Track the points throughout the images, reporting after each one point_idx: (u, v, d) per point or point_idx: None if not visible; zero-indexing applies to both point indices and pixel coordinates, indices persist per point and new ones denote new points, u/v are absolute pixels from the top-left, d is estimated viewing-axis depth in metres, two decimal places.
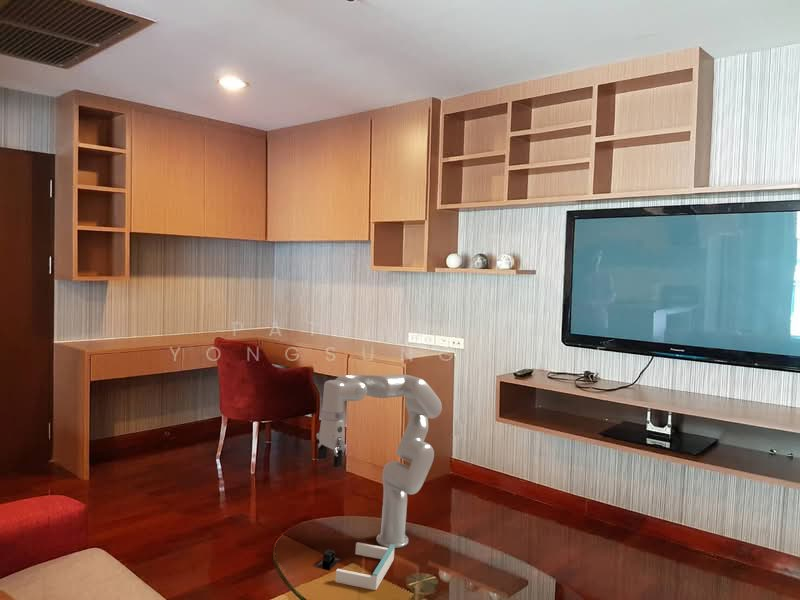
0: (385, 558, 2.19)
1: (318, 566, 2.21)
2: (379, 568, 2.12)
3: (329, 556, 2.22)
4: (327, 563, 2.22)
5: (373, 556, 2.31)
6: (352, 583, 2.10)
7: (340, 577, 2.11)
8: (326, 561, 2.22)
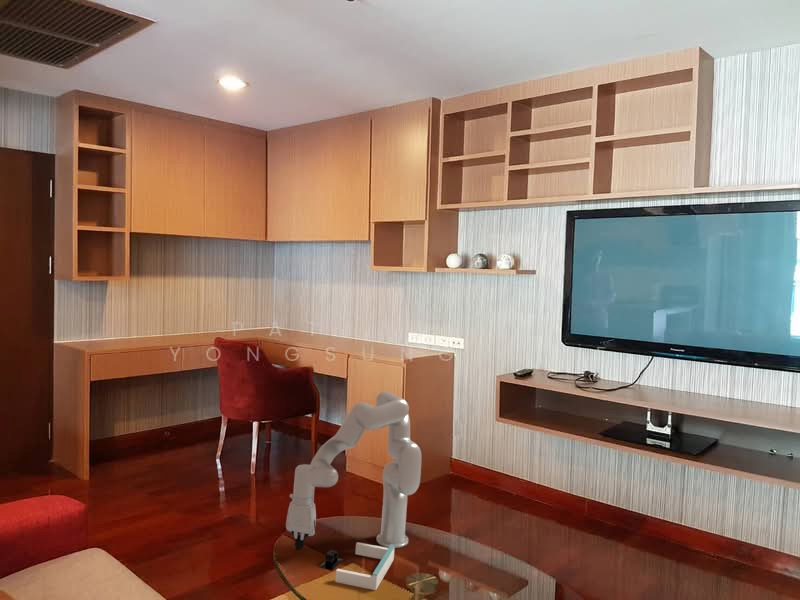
0: (385, 558, 2.19)
1: (321, 566, 2.21)
2: (379, 568, 2.12)
3: (332, 556, 2.22)
4: (330, 563, 2.22)
5: (373, 556, 2.31)
6: (352, 583, 2.10)
7: (340, 577, 2.11)
8: (329, 561, 2.22)
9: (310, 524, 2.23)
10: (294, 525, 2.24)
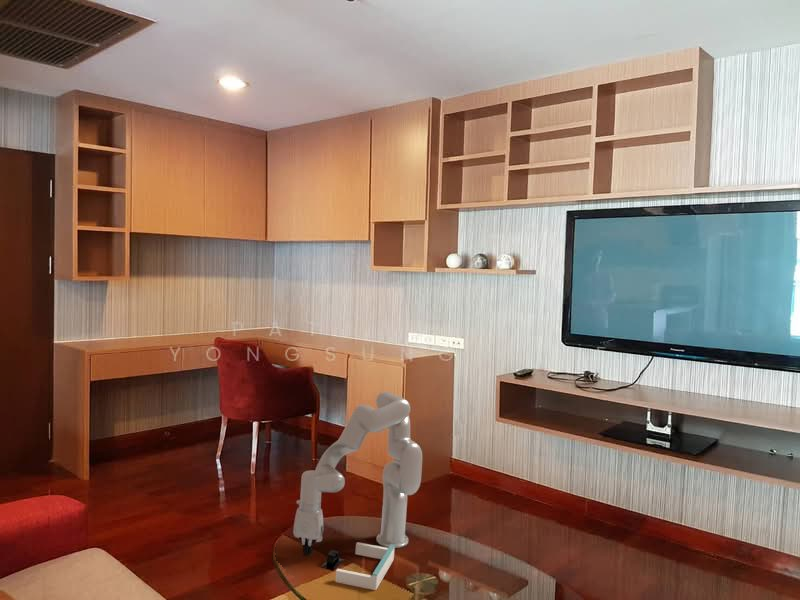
0: (385, 558, 2.19)
1: (322, 567, 2.21)
2: (379, 568, 2.12)
3: (333, 557, 2.22)
4: (331, 564, 2.22)
5: (373, 556, 2.31)
6: (352, 583, 2.10)
7: (340, 577, 2.11)
8: (330, 562, 2.22)
9: (318, 530, 2.22)
10: (301, 531, 2.23)
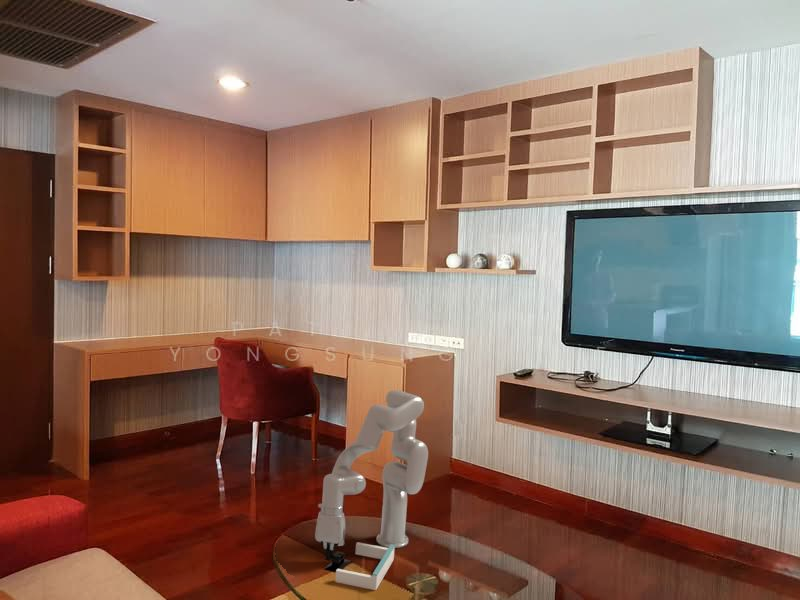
0: (385, 558, 2.19)
1: (327, 568, 2.20)
2: (379, 568, 2.12)
3: (338, 558, 2.21)
4: (336, 565, 2.21)
5: (373, 556, 2.31)
6: (352, 583, 2.10)
7: (340, 577, 2.11)
8: (335, 563, 2.21)
9: (340, 534, 2.20)
10: (323, 535, 2.21)
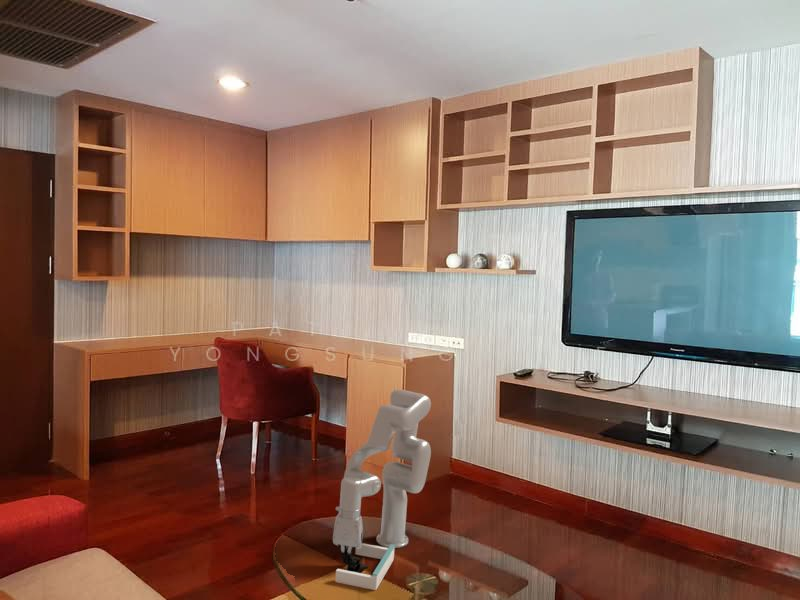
0: (385, 558, 2.19)
1: None
2: (379, 568, 2.12)
3: (354, 563, 2.18)
4: (352, 570, 2.18)
5: (373, 556, 2.31)
6: (352, 583, 2.10)
7: (340, 577, 2.11)
8: (351, 568, 2.18)
9: (358, 537, 2.18)
10: (341, 538, 2.20)
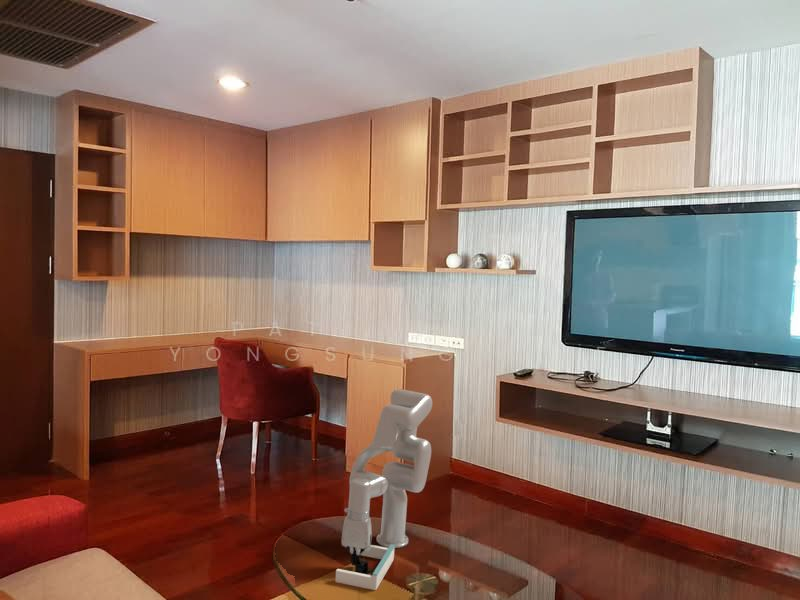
0: (385, 558, 2.19)
1: None
2: (379, 568, 2.12)
3: (361, 566, 2.17)
4: None
5: (373, 556, 2.31)
6: (352, 583, 2.10)
7: (340, 577, 2.11)
8: (358, 571, 2.17)
9: (367, 539, 2.17)
10: (350, 540, 2.19)
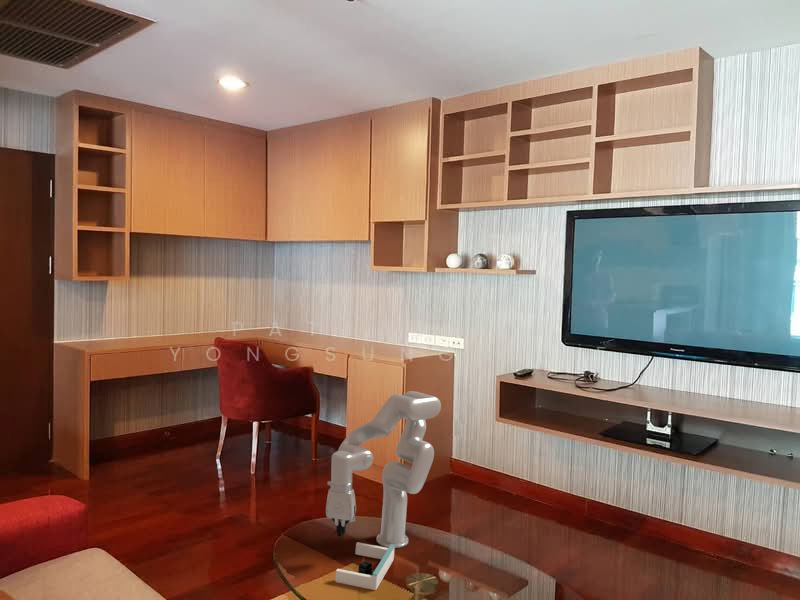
0: (385, 558, 2.19)
1: None
2: (379, 568, 2.12)
3: (364, 567, 2.16)
4: None
5: (373, 556, 2.31)
6: (352, 583, 2.10)
7: (340, 577, 2.11)
8: (361, 572, 2.16)
9: (351, 510, 2.19)
10: (334, 512, 2.21)
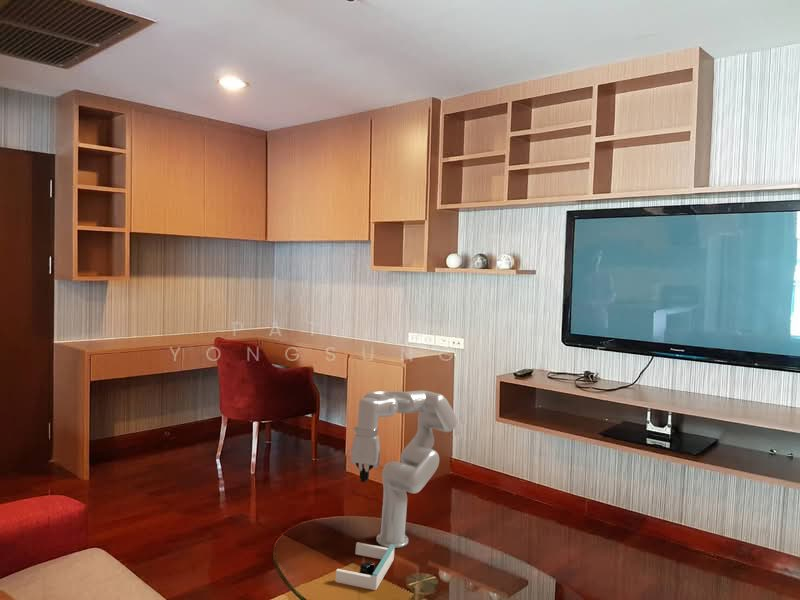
0: (385, 558, 2.19)
1: None
2: (379, 568, 2.12)
3: (366, 568, 2.16)
4: None
5: (373, 556, 2.31)
6: (352, 583, 2.10)
7: (340, 577, 2.11)
8: (363, 572, 2.16)
9: (376, 455, 2.24)
10: (359, 457, 2.25)
